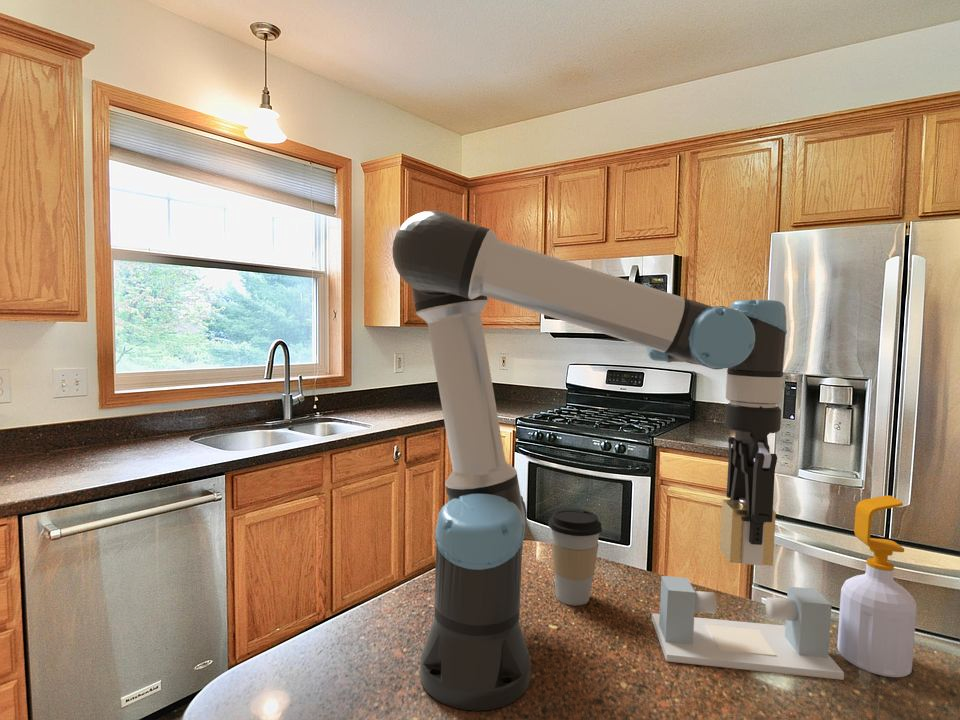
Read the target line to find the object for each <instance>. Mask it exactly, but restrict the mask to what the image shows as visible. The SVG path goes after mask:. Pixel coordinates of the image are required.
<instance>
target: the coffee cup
mask: <svg viewBox="0 0 960 720" xmlns="http://www.w3.org/2000/svg"><path fill="white" fill-rule="evenodd" d="M547 524H548V525H547V526H548V527H549V528H550V529H551V552H552V553H551V554H552V567H553V569H552V570H553V573H554V575H553V576H554V586H555V587H554V588H555V590H554V591H555V597H556V599H557V601H559V602H561V603H562V604H565V605H568V606H576V607H577V606H582V605H585V604H588V602H589V601H590V597H591V591H592V583H593V577H594V575H595V570H596V569H595V568H596V564H597V557H598V556H597V555H598V550H599V537H600V533H601V532H602V531H603V527H602V523H601V521H599V517H598V515H597V514H595V513H594V512H592V511H589V510H586V509H582V508H581V509H580V508H568V507H567V508H561V509H560V508H559V509H557V510H555V511H553V513H552V516H551V517H550V518H549V520H548V523H547Z"/></svg>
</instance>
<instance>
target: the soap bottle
mask: <svg viewBox="0 0 960 720" xmlns="http://www.w3.org/2000/svg"><path fill="white" fill-rule="evenodd" d="M903 505H904V503H903V501H901V500H900V499H898V498H896V497H895V496H892V495H881V496H877V497H871V498H867V499H862V500H860V501H859V502H858V503H857V504H856V506H855V514H854V527H853V528H854V529H853V532H854V535H855V537H856V538H857V539H858V540H859V541H860V542H862V543H864V544H865V546H868V548H869V551H870V552H872V553H873V557H869V558H867V559H866V564H865V573H863V574H857V575H855V576H852V577H850V578H848V579H846V580H845V581H844V582H843V585H842V586H841V589H840V599H839V612H838V613H839V616H838V628H837V630H838V632H837V642H836V643H837V644H836V645H837V647H836V648H837V650H838V652H839V654H840V656H841V657H843V658H844V659H845V660H846V661H847V662H849V663H850V664H852V665H853V666H855V667H857V668H858V669H862V670H863V671H866V672H868V673H871V674H875V675H878V676H882V677H889V678H904V677H906V676H909V675H910V674H911V673H912V669H913V660H914V659H913V658H914V646H915V645H914V644H915V631H916V620H917V619H916V618H917V608H918V607H917V604H916V600H915V598H914V597H913V595H911V593H910V592H909V591H908V590H907V589H906V588H905V587H904V586H902V585H901V584H900V583H898V582H897V581H896V580H894V574H895V573H894V572H895V565H894V563H892V562H890V561H889V560H888V559H889V558H888V556H893V553H894V552H896V553H904V552H905V548H904V547H903V546H901V545H900V544H898V543H897V542H896V541H893V540H890V539H884V538H875V537H874V538H873V537H871V531H872V530H871V528H872V519H873V515H874V514H875V513H876V512H879V511H883V510H888V509H893V508H899V507H902V506H903Z"/></svg>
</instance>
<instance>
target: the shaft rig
mask: <svg viewBox="0 0 960 720" xmlns="http://www.w3.org/2000/svg"><path fill="white" fill-rule="evenodd" d="M660 583H661V584H660V597H659V598H660V599H659V613H654V612H652V613H651V621H652V623H653V626H654V629H655V633H656V636H657V638H658V640H659V641H658V642H659V644H660V646H661V650H662V653H663V655H664V656H663V657H664V658H665V659H664V660H665V661H666V662H669V663H678V664H690V665H698V666H708V667H716V668H717V667H718V668H728V669H736V670H744V671H745V670H748V671H754V672H755V671H756V672H764V673H765V672H766V673H773V674H784V675H792V676H804V677H805V676H806V677H814V678H824V679H831V680H842V681H843V680H845V672H844V671H843V670H842V668H841V667H840V666H839V665H838V664H837V662H836V661H835V660H834V659H833V658H832V657H831V656H830V654H829V650H830V649H829V647H830V633H831V619H832V604H831V603H830V601H828V600H827V599H826V598H825V597H824V596H823V595H822V593H820V592H819V591H818V590H817V589H816V588H811V587H810V588H809V587H798V586H797V587H796V586H787V593H786V594H787V597H786V598H781V597H769V596H768V597H766V598H765V611H766V616H767V617H768V618H769V619H770V620H779V621H785V625H780V624H769V623H757V622H749V621H748V622H747V621H739V620H726V619H717V618H716V619H715V618H706V617H695V613H701V614H702V613H703V614H704V613H705V614H713V615H714V614H717V611H718V600H717V595H716V593H715V592H713V591H703V590H702V591H699V590H695V588H694V587H693V585H692V584H691V582H690V580H689V578H688V577H679V576H678V577H677V576H667V575H661V579H660Z"/></svg>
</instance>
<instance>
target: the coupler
mask: <svg viewBox="0 0 960 720" xmlns="http://www.w3.org/2000/svg"><path fill="white" fill-rule="evenodd" d="M776 514H777V512H776V511H775V510H774V509H773V517H772V518H773V519H772V522H766V523H765V528H764V547H763V565H762V566H772V567H773V566H774V551H775V550H774V549H775V531H776ZM741 516H742V517H746V516H747V515H746V498H739V500H730V499H725V498H724V499H722V500H721V520H720V537H719V538H720V542H719V550H720V552H721V553H722V554H723V556H725V558H726V559H727V561H728V562H729V563H732V564H743V563H742V562H741V559H742V540H743V521H742V519H741Z"/></svg>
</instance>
